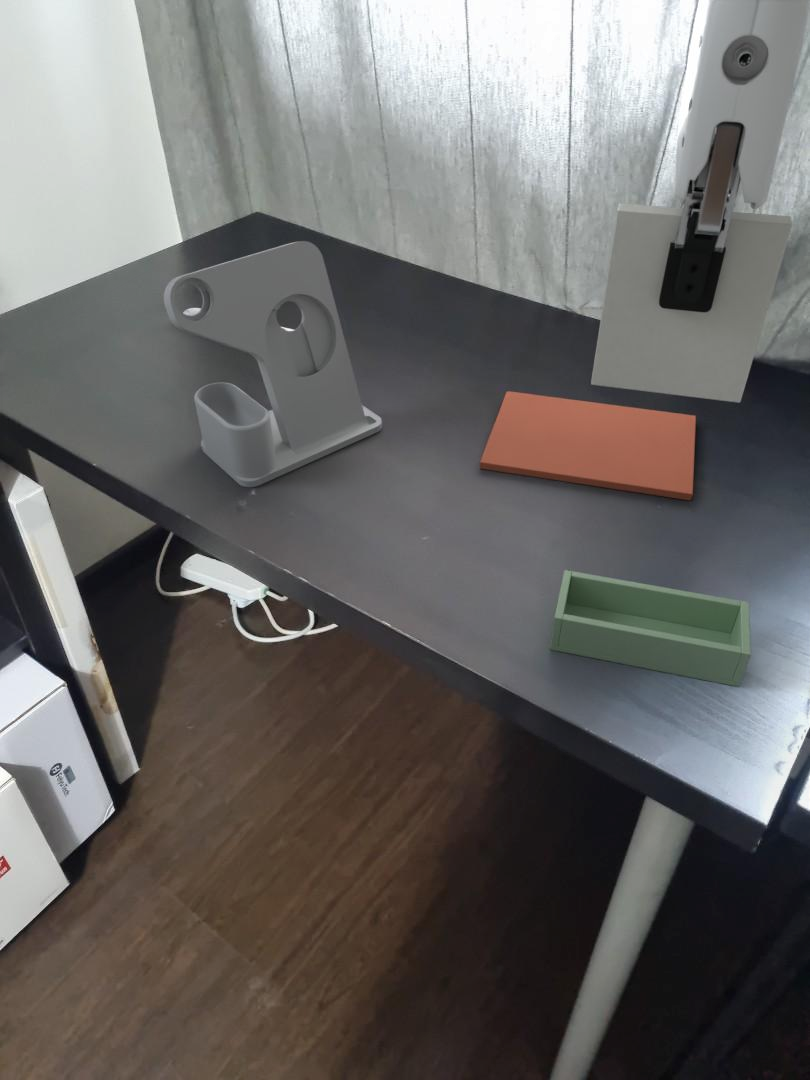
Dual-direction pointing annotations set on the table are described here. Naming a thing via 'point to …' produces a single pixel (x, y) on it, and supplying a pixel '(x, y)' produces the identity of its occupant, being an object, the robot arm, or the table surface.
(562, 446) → the mat
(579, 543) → the table surface
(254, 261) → the phone holder
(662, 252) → the board
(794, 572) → the table surface
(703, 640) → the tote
